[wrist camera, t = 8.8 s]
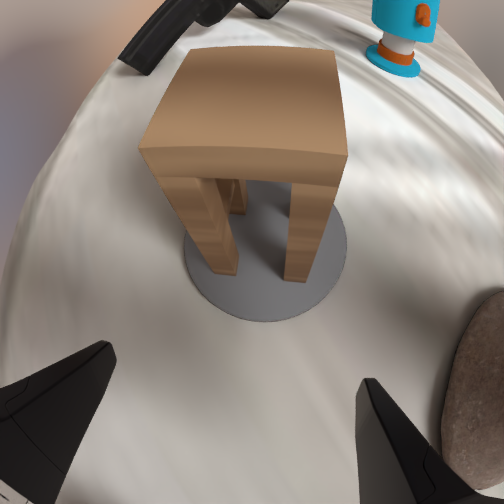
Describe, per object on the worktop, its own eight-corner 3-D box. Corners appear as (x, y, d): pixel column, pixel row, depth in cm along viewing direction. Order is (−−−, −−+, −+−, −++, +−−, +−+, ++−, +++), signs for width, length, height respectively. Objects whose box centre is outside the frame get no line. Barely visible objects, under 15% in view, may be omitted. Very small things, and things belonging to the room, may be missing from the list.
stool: (305, 283, 18) (348, 155, 7) (214, 273, 19) (138, 148, 8) (310, 203, 20) (333, 50, 9) (229, 196, 21) (190, 49, 10)
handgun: (185, 100, 40) (115, 57, 26) (278, -2, 33) (237, -63, 19) (194, 105, 39) (122, 61, 25) (289, 0, 32) (249, -64, 19)
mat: (338, 331, 17) (340, 330, 17) (170, 306, 19) (167, 304, 18) (346, 184, 21) (347, 180, 21) (206, 170, 23) (205, 166, 22)
